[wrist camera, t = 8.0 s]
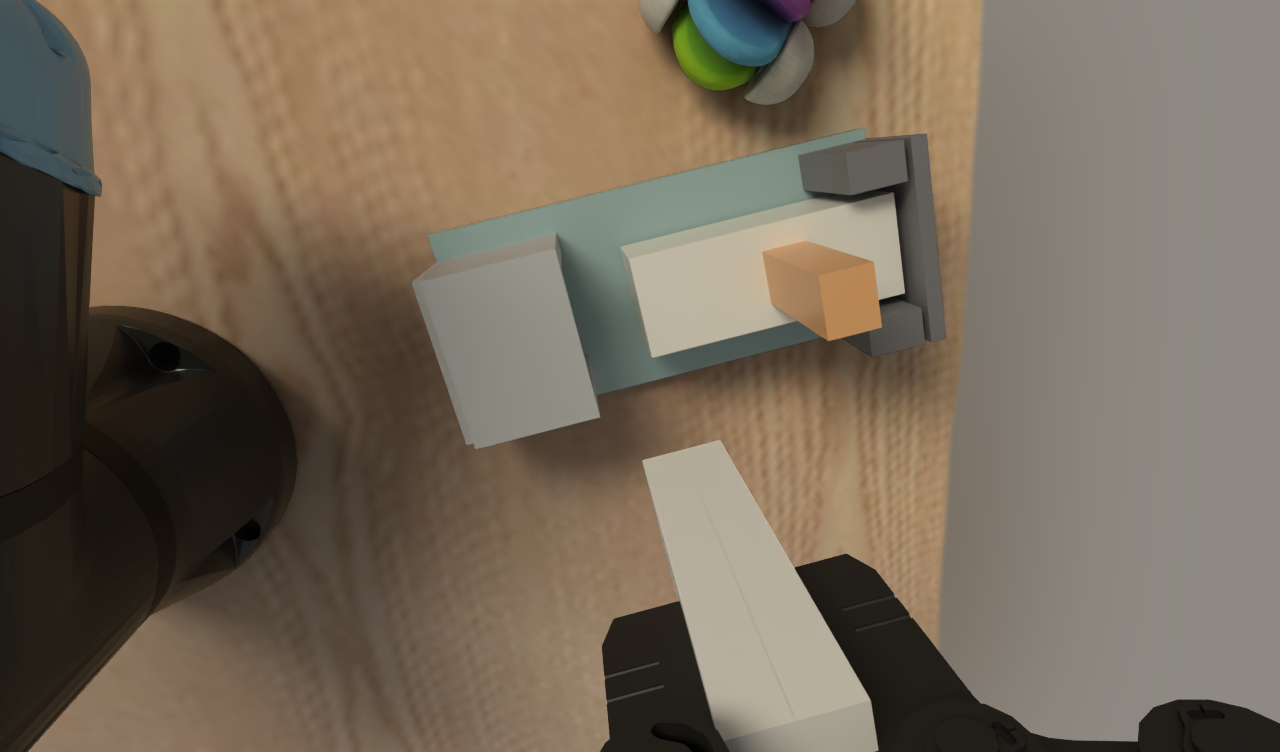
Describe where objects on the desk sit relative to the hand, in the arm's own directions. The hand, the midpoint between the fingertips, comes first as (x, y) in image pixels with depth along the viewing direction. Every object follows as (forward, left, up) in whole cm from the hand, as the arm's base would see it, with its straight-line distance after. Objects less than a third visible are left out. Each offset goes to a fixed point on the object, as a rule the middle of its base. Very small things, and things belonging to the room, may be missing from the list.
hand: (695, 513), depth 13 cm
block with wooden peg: (+7, 0, -23) cm, 24 cm away
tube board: (+3, 0, -24) cm, 24 cm away
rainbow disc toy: (+10, +12, -25) cm, 29 cm away
